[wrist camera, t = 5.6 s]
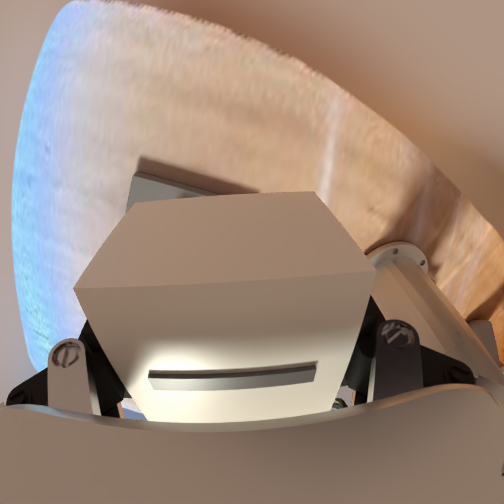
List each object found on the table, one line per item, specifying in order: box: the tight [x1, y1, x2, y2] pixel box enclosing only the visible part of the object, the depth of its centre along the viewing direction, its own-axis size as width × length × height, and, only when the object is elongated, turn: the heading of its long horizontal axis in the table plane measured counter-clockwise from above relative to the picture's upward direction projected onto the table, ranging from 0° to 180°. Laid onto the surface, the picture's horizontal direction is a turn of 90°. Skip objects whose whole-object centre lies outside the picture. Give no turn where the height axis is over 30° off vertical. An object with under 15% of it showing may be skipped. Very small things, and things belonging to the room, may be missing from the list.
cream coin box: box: [73, 192, 377, 423], centre depth 9 cm, size 6×6×5 cm
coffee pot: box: [468, 319, 504, 372], centre depth 40 cm, size 21×12×15 cm, turn 58°
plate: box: [126, 172, 220, 213], centre depth 28 cm, size 12×10×2 cm
